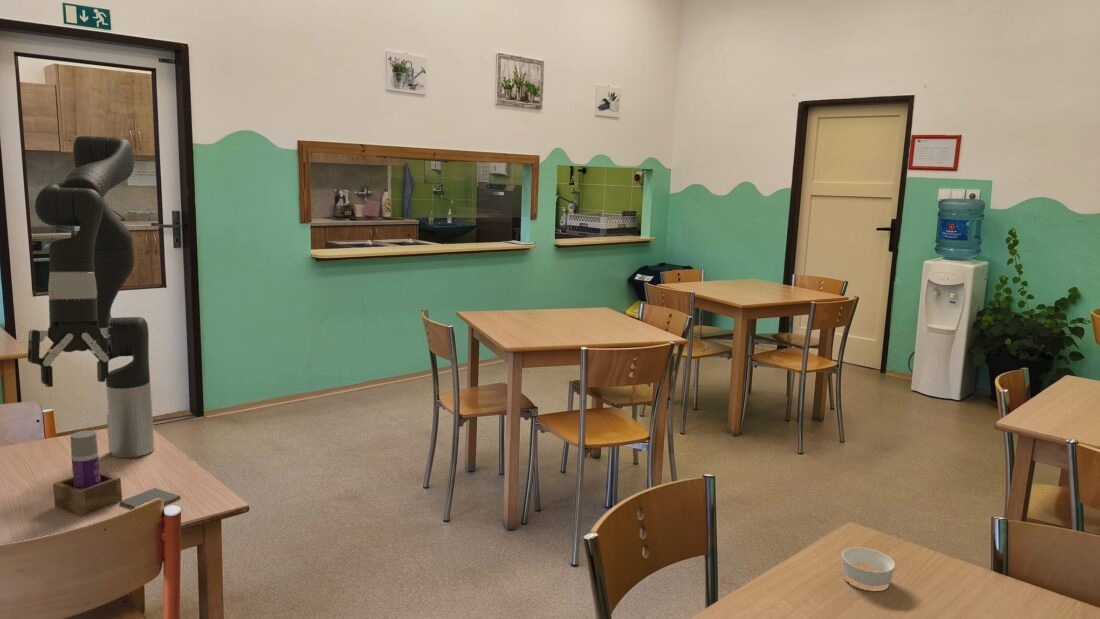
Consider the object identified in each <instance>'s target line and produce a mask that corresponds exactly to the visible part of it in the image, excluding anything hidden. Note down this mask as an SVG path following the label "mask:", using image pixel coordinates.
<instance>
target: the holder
mask: <svg viewBox="0 0 1100 619" xmlns="http://www.w3.org/2000/svg"><path fill="white" fill-rule="evenodd" d="M100 481H101V483H99V484H96V485H93V486H90V487H88V488H85V489H82V490H80V489H77V488H74V481H73V476H71V477H69V478H66V479H63V480H60V481H59V480H58V481H57V482H56V481H55V482H53V483H52V486H53V487H52V489H53V500H54V501H53V502H54V507H55V508H57V509H59V510H60V509H61V510H62V511H64V512H65V511H66V512H68V513H71V514H73V515H77V516H79V517H83V516H85V515H89V514H91V513H93V511H94V512H97V511H99V510H101V509H105V508H106V506H107V507H109V506H112V505H114V503H115V504H117V503H120V501H122V500H123V497H122V496H123V495H122V493H123V492H122V480H121V477H119V476H116V475H113V474H110V473H105V472H102V471H100ZM111 504H112V505H111ZM90 512H91V513H90ZM88 513H89V514H88Z"/></svg>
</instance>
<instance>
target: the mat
mask: <svg viewBox="0 0 1100 619" xmlns="http://www.w3.org/2000/svg"><path fill="white" fill-rule="evenodd" d="M156 498H161V499H163V500H164V505H163V506H166V505H168V504H170V503H173V502H176V501H178V500H180V499H181V495H179V494H175V493H173V492H169V491H166V490H162V489H160V488H156V487H154V488H151V489H148V490H146V491H143V492H140V493H138V494H135V495H133V496H130V497H128V498H126V499H122V501H120V502H119V505H121V506H124V505H125V506H124V507H127V508H130V507H131V508H130V509H133V508H135V507H137V506H140V505H142V504H144V503H146V502H149V501H151V500H153V499H156Z"/></svg>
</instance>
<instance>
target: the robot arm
mask: <svg viewBox="0 0 1100 619" xmlns="http://www.w3.org/2000/svg"><path fill="white" fill-rule="evenodd" d="M72 148H73V163H74V167H75V169H73V170H72V171H71V172H69V174H68V175H67V176H66V177H65V179H62V180H59V181H56V182H54V183H51V184H48V185H46V186H45V187H43V188H42V189H41V190H40V191H39V193H37V196H36V198H35V202H34V209H35V210H34V211H35V213H36V216H37V218H38V219H39V220H40V221H41V222H43V223H44V224H45V225H48V226H52V227H79V229H78V231H77V232H76V234H75V235H74V236H72V237H71V236H70V237H67V238H62V239H56V240H53V241H51V243H50V244H49V247H48V256H49V257H48V258H49V259H48V260H49V277H48V278H49V279H48V308H49V309H48V310H49V311H48V312H49V313H48V314H49V315H48V316H49V326H48V329H47V330H36V329H30V330H29V331H28V341H27V342H28V344H27V361H28V362H29V363H30V364H33V365H34V364H35V365H38V366H39V367H40V379H41V380H40V381H41V383H42V385H45V387H46V388H49V387H53V386H54V378H53V377H54V376H53V366H51V365H52V363H53V362H54V361H55V359H56V358H57V357H58V356H60V354H61V353H62V352H65V353H72V352H76V351H77V352H87V350H88V351H89V352H90V353H91V354H93V356H94V357H95V358H96V359H97V360H98V361H96V370H97V374H96V375H97V382H99V383H105V385H106V386H105V387H106V399H107V411H108V412H107V415H106V423H107V437H108V449H109V450H108V452H110V454H111V456H112V457H114V458H119V459H130V458H138V457H143V456H146V455H148V454H150V452H151V453H152V452H154V450H155V441H154V440H155V439H154V438H155V437H154V436H155V435H154V422H153V421H154V420H153V404H152V391H151V378H150V376H151V375H150V361H149V360H150V359H149V358H150V356H149V352H150V351H149V341H150V340H149V336H150V335H149V326H148V325H149V324H148V322H147V320H146V319H145V318H144V317H140V316H128V317H127V316H125V317H122V316H121V317H112V314H111V311H112V306H113V303H114V301H115V299H116V297H117V295H118V293H119V292H120V290H121V288H122V287H123V286H124V284H125V283H126V281H127V279H128V278H129V277H130V275H131V274H132V271H133V270H134V267H135V253H134V252H135V251H134V242H133V241H134V240H133V236H132V234H131V232H130V230H129V229H128V227H127V226H126V224H125V223H124V222H123V221H122V220H121V219H120V217H119V216H118V215H117V214H116V213H115V212H114V211H113V209H112V208H111V207H110V205H109V204H108V203H107V201H106V200H105V198H104V197H105V196H106V194H107V193H108V192H109V191H110V190H112V189H113V188H115V187H116V186H118V185H119V184H121V183H123V182H124V181H126V180H128V179H129V178H130V177H131V176H132V174H133V172H134V170H135V169H134V168H135V154H134V150H133V147H132V144H131V143H130V142H129V140H127V139H125V138H122V137H117V136H116V137H114V136H95V135H80V136H77V137H76V138H75V140H74V142H73V147H72ZM46 337H47V338H48V339H49V340H50V341H51V342H52V344H51V345H50V346H49V348H48V349H47V350H46V352H45V354H44V355H43V356H42V357H40V343H42V342H44V340H45V338H46ZM118 357H132V358H133V359H132V361H130V362H129V363H127V364H125V365H122V366H121V367H118V368H115V369H113V370H110V371H109V362H110V361H111V360H113V359H117V358H118ZM142 455H143V456H142Z"/></svg>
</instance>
